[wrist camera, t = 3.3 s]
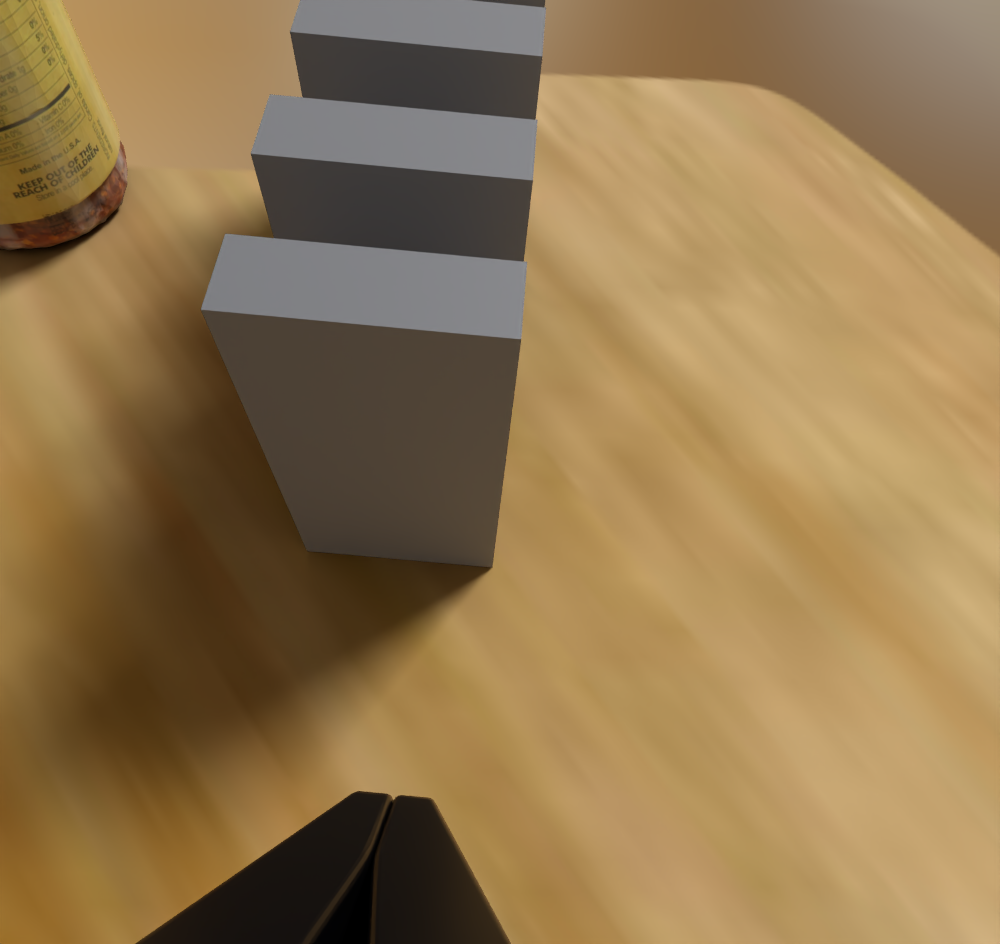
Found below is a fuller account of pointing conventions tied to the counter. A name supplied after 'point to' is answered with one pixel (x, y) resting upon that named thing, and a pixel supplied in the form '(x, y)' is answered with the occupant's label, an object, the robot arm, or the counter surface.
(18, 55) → the sauce bottle
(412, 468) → the domino
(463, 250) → the domino
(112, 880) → the counter surface
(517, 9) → the domino
